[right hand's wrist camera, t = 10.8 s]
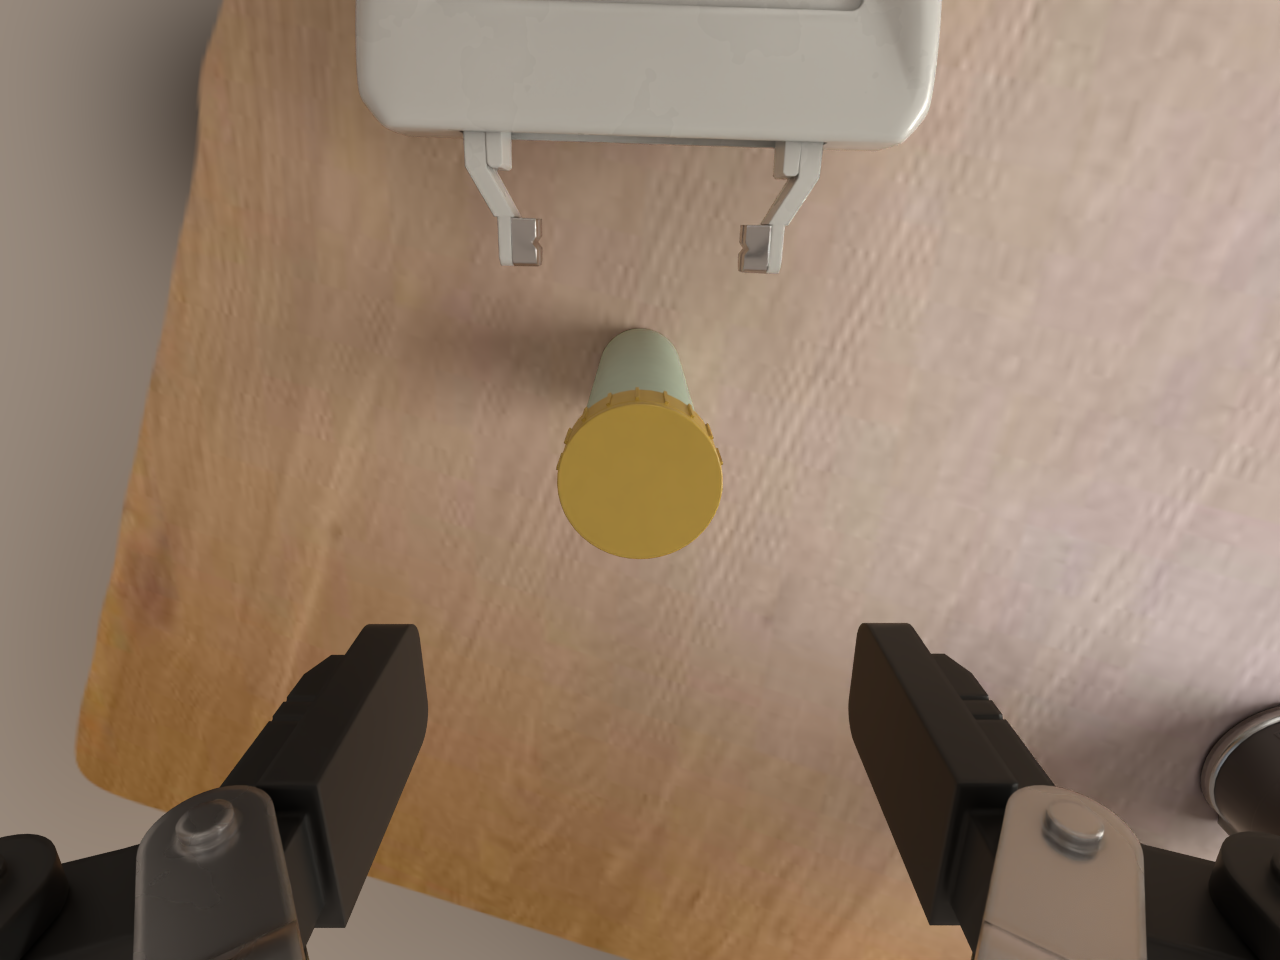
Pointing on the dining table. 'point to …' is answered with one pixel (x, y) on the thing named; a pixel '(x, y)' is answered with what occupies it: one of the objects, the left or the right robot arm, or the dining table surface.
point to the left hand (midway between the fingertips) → (640, 269)
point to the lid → (639, 474)
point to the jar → (639, 366)
